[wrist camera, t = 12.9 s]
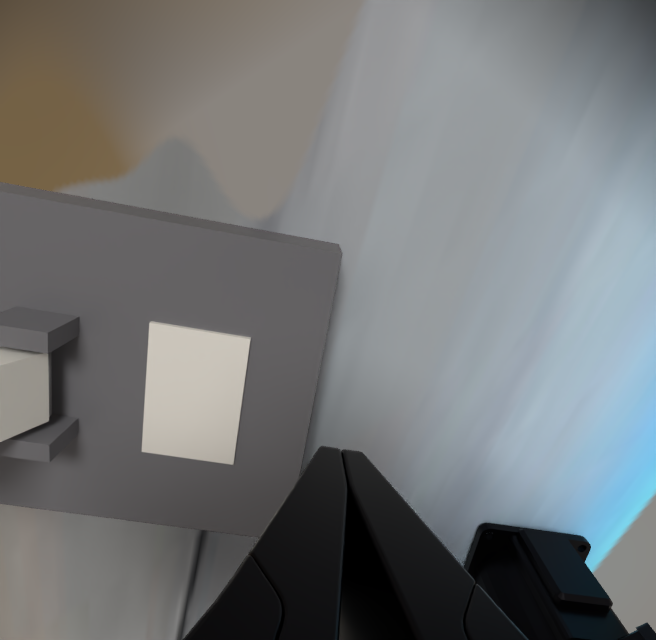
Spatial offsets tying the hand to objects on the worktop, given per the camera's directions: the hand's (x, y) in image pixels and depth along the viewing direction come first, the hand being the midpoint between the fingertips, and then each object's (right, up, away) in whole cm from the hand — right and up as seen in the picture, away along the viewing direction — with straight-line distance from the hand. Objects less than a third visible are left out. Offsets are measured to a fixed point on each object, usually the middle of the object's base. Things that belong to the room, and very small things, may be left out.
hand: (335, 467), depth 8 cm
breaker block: (-12, +2, +12) cm, 17 cm away
